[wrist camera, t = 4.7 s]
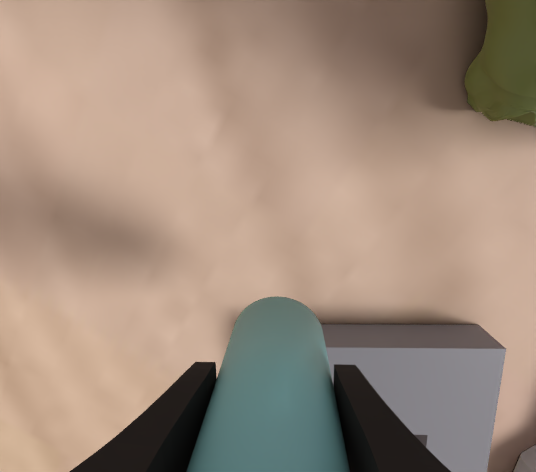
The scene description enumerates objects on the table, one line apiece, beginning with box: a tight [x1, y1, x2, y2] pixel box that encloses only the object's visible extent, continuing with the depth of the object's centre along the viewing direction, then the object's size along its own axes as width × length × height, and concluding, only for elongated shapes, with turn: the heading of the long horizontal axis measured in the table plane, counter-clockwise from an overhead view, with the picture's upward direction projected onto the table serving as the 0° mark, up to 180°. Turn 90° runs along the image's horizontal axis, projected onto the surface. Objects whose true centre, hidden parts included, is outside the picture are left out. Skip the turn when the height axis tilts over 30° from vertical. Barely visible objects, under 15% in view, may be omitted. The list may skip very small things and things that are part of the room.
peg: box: [187, 297, 350, 472], centre depth 9 cm, size 4×4×8 cm
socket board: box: [321, 324, 506, 472], centre depth 20 cm, size 16×12×2 cm
